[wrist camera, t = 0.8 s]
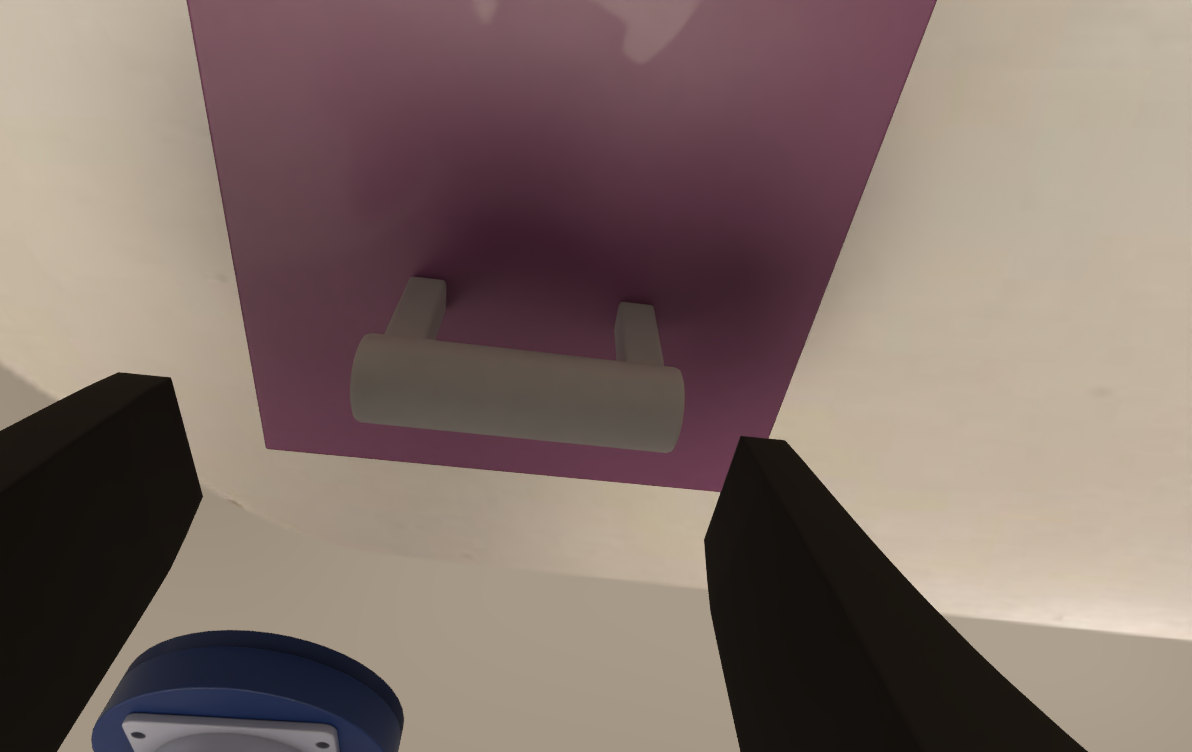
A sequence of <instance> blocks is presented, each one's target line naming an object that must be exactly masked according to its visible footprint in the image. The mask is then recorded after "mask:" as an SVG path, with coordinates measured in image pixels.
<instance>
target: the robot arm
mask: <svg viewBox="0 0 1192 752" xmlns="http://www.w3.org/2000/svg"><path fill="white" fill-rule="evenodd" d="M202 497H203V495H202V491H201V488H200V484H199V480H198V477H197V473H196V469H195V465H194V462H193V458H192V454H191V450H190V447H189V443H188V439H187V436H186V432H185V428H184V424H183V421H182V417H181V413H180V409H179V406H178V402H177V398H176V395H175V391H174V387H173V383H172V380H171V378H169V377H160V376H150V375H140V374H130V373H120V372H118V373H116V374H114V375H112V376H109V377H107V378H105V379H102V380H100V381H98V382H96V383H94V384H92V385H90V386H87V387H85V388H83V389H81V390H79V391H77V392H75V393H73V394H71V395H69V396H67V397H65V398H63V399H61V400H59V401H57V402H55V403H53V404H51V405H50V406H48V407H46V408H44V409H42V410H40V411H38V412H36V413H34V414H32V415H30V416H28V417H26V418H24V419H23V420H21V421H19V422H17V423H15V424H13V425H11V426H9V427H7V428H5V429H3V430H1V431H0V752H57V751H58V749H59V747H60V746H61V744H62V743H63V741H64V739H65V738H66V736H67V734H68V733H69V731H70V730H71V728H72V726H73V725H74V723H75V722H76V720H77V719H78V717H79V715H80V714H81V712H82V711H83V709H84V707H85V706H86V704H87V703H88V701H89V699H90V698H91V696H92V695H93V693H94V691H95V690H96V688H97V687H98V685H99V684H100V682H101V680H102V679H103V677H104V676H105V674H106V672H107V671H108V669H109V668H110V666H111V664H112V663H113V661H114V660H115V658H116V657H117V655H118V653H119V652H120V650H121V649H122V647H123V645H124V644H125V642H126V641H127V639H128V637H129V636H130V634H131V633H132V631H133V629H134V628H135V626H136V624H137V623H138V621H139V620H140V618H141V616H142V615H143V613H144V612H145V610H146V608H147V607H148V605H149V603H150V602H151V600H152V599H153V597H154V595H155V594H156V592H157V591H158V589H159V587H160V585H161V584H162V582H163V581H164V579H165V577H166V575H167V574H168V572H169V570H170V569H171V567H172V564H173V562H174V560H175V558H176V556H177V554H178V551H179V550H180V547H181V545H182V543H183V541H184V539H185V537H186V535H187V532H188V530H189V527H190V525H191V523H192V520H193V518H194V516H195V514H196V511H197V509H198V507H199V504H200V502H201V500H202ZM704 544H705V557H706V570H707V582H708V592H709V601H710V610H711V616H712V621H713V626H714V631H715V635H716V640H717V645H718V650H719V655H720V659H721V664H722V669H723V673H724V678H725V683H726V687H727V692H728V696H729V701H730V706H731V710H732V715H733V719H734V724H735V729H736V733H737V738H738V742H739V747H740V752H1088V751H1086V750H1085V749H1084V748H1083V747H1081V746H1080V745H1079V744H1078V743H1077V742H1076V741H1075V740H1074V739H1072V738H1071V737H1070V736H1069V735H1068V734H1067V733H1065V732H1064V731H1063V730H1062V729H1061V728H1060V727H1059V726H1057V724H1056V723H1054V722H1053V721H1052V720H1051V719H1050V718H1049V717H1048V716H1046V715H1045V714H1044V713H1043V712H1042V711H1041V710H1040V709H1039V708H1038V707H1037V706H1036V705H1034V704H1033V703H1032V702H1031V701H1030V700H1029V699H1028V698H1027V697H1026V696H1025V695H1023V694H1022V693H1021V692H1020V691H1019V690H1018V689H1017V688H1016V687H1015V686H1013V685H1012V684H1011V683H1010V682H1009V681H1008V680H1007V679H1006V678H1005V677H1003V676H1002V675H1001V674H1000V673H999V672H998V671H997V670H996V669H995V668H994V667H993V666H992V665H991V664H990V663H989V662H988V661H987V660H986V659H985V658H984V657H983V656H982V655H980V654H979V653H978V652H977V651H976V650H975V649H974V648H973V647H972V646H971V645H970V644H969V643H968V642H967V641H966V640H965V639H964V638H963V637H962V636H961V635H960V634H959V633H958V632H957V630H956V629H955V628H953V626H951V624H950V623H948V621H947V620H946V619H945V618H944V617H943V616H942V615H941V614H940V613H939V612H938V611H937V610H936V609H935V608H934V607H933V606H932V605H931V604H930V603H929V602H928V601H927V600H926V599H925V598H924V597H923V596H922V595H921V594H920V593H919V592H918V590H917V589H916V588H915V587H914V586H913V585H912V584H911V583H910V582H909V581H908V580H907V579H906V578H905V577H904V576H903V574H902V573H901V572H900V571H899V570H898V569H897V568H896V567H895V566H894V565H893V563H892V562H891V561H890V560H889V559H888V558H887V557H886V556H885V555H884V554H883V552H882V551H881V550H880V549H879V548H878V547H877V546H876V545H875V543H874V542H873V541H872V540H871V539H870V538H869V537H868V536H867V534H866V533H865V532H864V531H863V530H862V529H861V528H860V526H859V525H858V524H857V523H856V522H855V521H854V520H853V518H852V517H851V516H850V515H849V514H848V513H847V511H846V510H845V509H844V508H843V507H842V506H841V504H840V503H839V502H838V501H837V500H836V499H835V497H834V496H833V495H832V494H831V493H830V492H829V490H828V489H827V488H826V487H825V486H824V485H823V483H822V482H821V481H820V480H819V479H818V478H817V476H816V475H815V474H814V473H813V472H812V470H811V469H810V468H809V467H808V466H807V465H806V463H805V462H804V461H803V460H802V459H801V458H800V457H799V455H798V454H797V453H796V452H795V451H794V450H793V449H792V448H791V447H790V445H789V444H788V443H787V442H786V441H785V440H776V439H766V438H757V437H747V436H740V439H739V442H738V445H737V447H736V450H735V453H734V456H733V459H732V462H731V465H730V467H729V470H728V473H727V476H726V479H725V482H724V485H723V487H722V490H721V493H720V496H719V499H718V502H717V505H716V507H715V510H714V513H713V516H712V519H711V522H710V525H709V527H708V530H707V533H706V536H705V539H704ZM122 728H123V730H124V732H125V734H126V736H127V738H128V740H129V742H130V744H131V746H132V748H133V750H134V752H340V748H339V741H338V734H337V730H336V728H335V727H334V726H332V725H330V724H326V723H311V722H294V721H276V720H259V719H241V718H224V717H206V716H189V715H171V714H154V713H131V714H129V715H127V716H126V718H125V720H124V722H123V723H122Z"/></svg>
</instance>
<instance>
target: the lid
mask: <svg viewBox="0 0 1192 752" xmlns="http://www.w3.org/2000/svg"><path fill="white" fill-rule="evenodd" d="M936 1H937V0H187V5H188V11H189V16H190V22H191V28H192V33H193V39H194V44H195V50H196V56H197V61H198V67H199V73H200V78H201V84H202V90H203V95H204V101H205V107H206V112H207V118H208V123H209V129H210V135H211V140H212V146H213V152H214V157H215V163H216V169H217V174H218V180H219V186H220V191H221V197H222V202H223V208H224V214H225V219H226V225H227V231H228V236H229V242H230V248H231V253H232V259H233V265H234V270H235V276H236V281H237V287H238V293H239V298H240V304H241V310H242V315H243V321H244V327H245V332H246V338H247V343H248V349H249V355H250V360H251V366H252V372H253V377H254V383H255V389H256V394H257V400H258V406H259V411H260V417H261V422H262V428H263V434H264V439H265V445H266V448H267V449H274V450H284V451H295V452H305V453H316V454H326V455H337V456H347V457H358V458H368V459H379V460H389V461H400V462H410V463H421V464H431V465H442V466H452V467H463V468H473V469H484V470H494V471H505V472H515V473H526V474H536V475H547V476H557V477H568V478H578V479H589V480H599V481H610V482H620V483H631V484H641V485H652V486H662V487H673V488H683V489H694V490H704V491H715V492H721V490H722V487H723V485H724V482H725V479H726V476H727V473H728V470H729V467H730V465H731V462H732V459H733V456H734V453H735V450H736V447H737V445H738V442H739V439H740V436H747V437H757V438H766V439H768V438H769V436H770V433H771V430H772V428H773V425H774V423H775V420H776V417H777V415H778V412H779V410H780V407H781V404H782V402H783V399H784V397H785V394H786V391H787V389H788V386H789V384H790V381H791V378H792V376H793V373H794V371H795V368H796V365H797V363H798V360H799V358H800V355H801V352H802V350H803V347H804V345H805V342H806V339H807V337H808V334H809V332H810V329H811V326H812V324H813V321H814V319H815V316H816V313H817V311H818V308H819V306H820V303H821V300H822V298H823V295H824V293H825V290H826V287H827V285H828V282H829V280H830V277H831V274H832V272H833V269H834V267H835V264H836V261H837V259H838V256H839V254H840V251H841V248H842V246H843V243H844V241H845V238H846V235H847V233H848V230H849V228H850V225H851V222H852V220H853V217H854V215H855V212H856V209H857V207H858V204H859V202H860V199H861V196H862V194H863V191H864V189H865V186H866V183H867V181H868V178H869V176H870V173H871V170H872V168H873V165H874V163H875V160H876V157H877V155H878V152H879V150H880V147H881V144H882V142H883V139H884V137H885V134H886V131H887V129H888V126H889V124H890V121H891V118H892V116H893V113H894V111H895V108H896V105H897V103H898V100H899V98H900V95H901V92H902V90H903V87H904V85H905V82H906V79H907V77H908V74H909V72H910V69H911V66H912V64H913V61H914V59H915V56H916V53H917V51H918V48H919V46H920V43H921V40H922V38H923V35H924V33H925V30H926V27H927V25H928V22H929V20H930V17H931V14H932V12H933V9H934V7H935V4H936Z"/></svg>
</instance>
